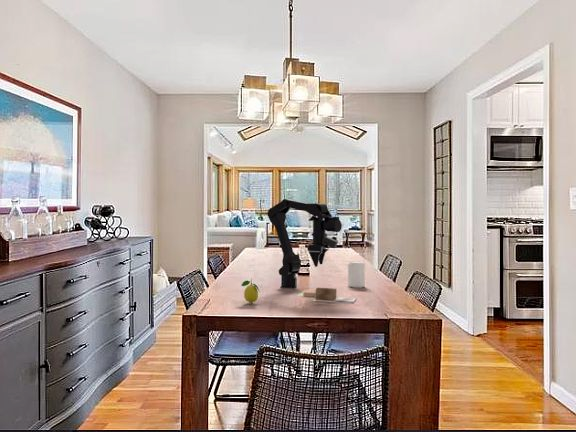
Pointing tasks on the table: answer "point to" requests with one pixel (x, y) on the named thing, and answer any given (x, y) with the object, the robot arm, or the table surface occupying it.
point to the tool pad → (325, 300)
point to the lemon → (250, 292)
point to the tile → (310, 293)
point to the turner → (331, 295)
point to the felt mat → (302, 294)
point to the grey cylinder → (356, 274)
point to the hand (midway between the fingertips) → (318, 265)
